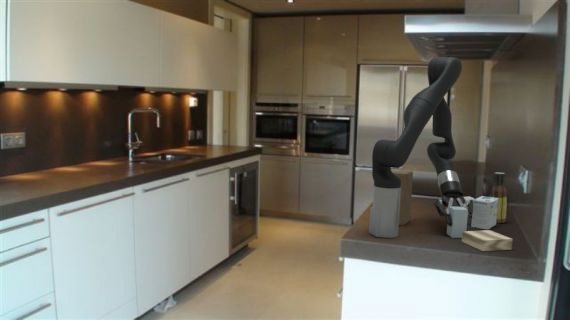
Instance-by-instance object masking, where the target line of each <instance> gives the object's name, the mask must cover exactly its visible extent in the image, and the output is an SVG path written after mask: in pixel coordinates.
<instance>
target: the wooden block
mask: <svg viewBox="0 0 570 320" xmlns="http://www.w3.org/2000/svg"><path fill="white" fill-rule="evenodd" d="M391 171H392V172H393V174H394V175H396V176H397V177H398V178H400V180H401V193H400V209H399V226H403V227H404V225H406V224H408V223H409V222H410V220H411V210H412V209H411V208H412V197H413V196H412V192H413V180H414V177H413V176H414V170H407V169H399V168H391Z"/></svg>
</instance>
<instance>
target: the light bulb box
mask: <svg viewBox="0 0 570 320" xmlns="http://www.w3.org/2000/svg"><path fill="white" fill-rule="evenodd" d="M474 199H475V200H473V214H472V216H471V224H470V225H471V226H470V227H471V228H475V227H476V228H477V229H481V230H482V229H483V230H490V229H492V228H493V227H495V226H496V225H497V223H496V219H497V208H498V198H493V197H490V196H484V195H481V196H479V197H476V198H474ZM476 228H475V229H476Z"/></svg>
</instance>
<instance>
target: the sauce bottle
mask: <svg viewBox="0 0 570 320" xmlns="http://www.w3.org/2000/svg"><path fill="white" fill-rule="evenodd" d="M493 177H494V178H493V179H494V180H493V185H492V187H491V189H490V194H489V197H493V198H498V208H497V219H496V224H504V223H506V219H507V205H508V203H507V202H508V195H507V194H508V190H507V187H506V185H505V178H506V173H505V172H499V171H498V172H497V171H496V172H494V174H493Z"/></svg>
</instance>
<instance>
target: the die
mask: <svg viewBox="0 0 570 320" xmlns="http://www.w3.org/2000/svg"><path fill="white" fill-rule="evenodd" d="M463 197H464V199H465V200H468V201H470V200H475V199H476V198H474V197H471V196H470V195H469V196H463ZM463 205H464V206H465V208H466V209H467V210H468V207H466V204H465V203H464V204H463ZM471 217H472V215H471Z"/></svg>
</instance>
